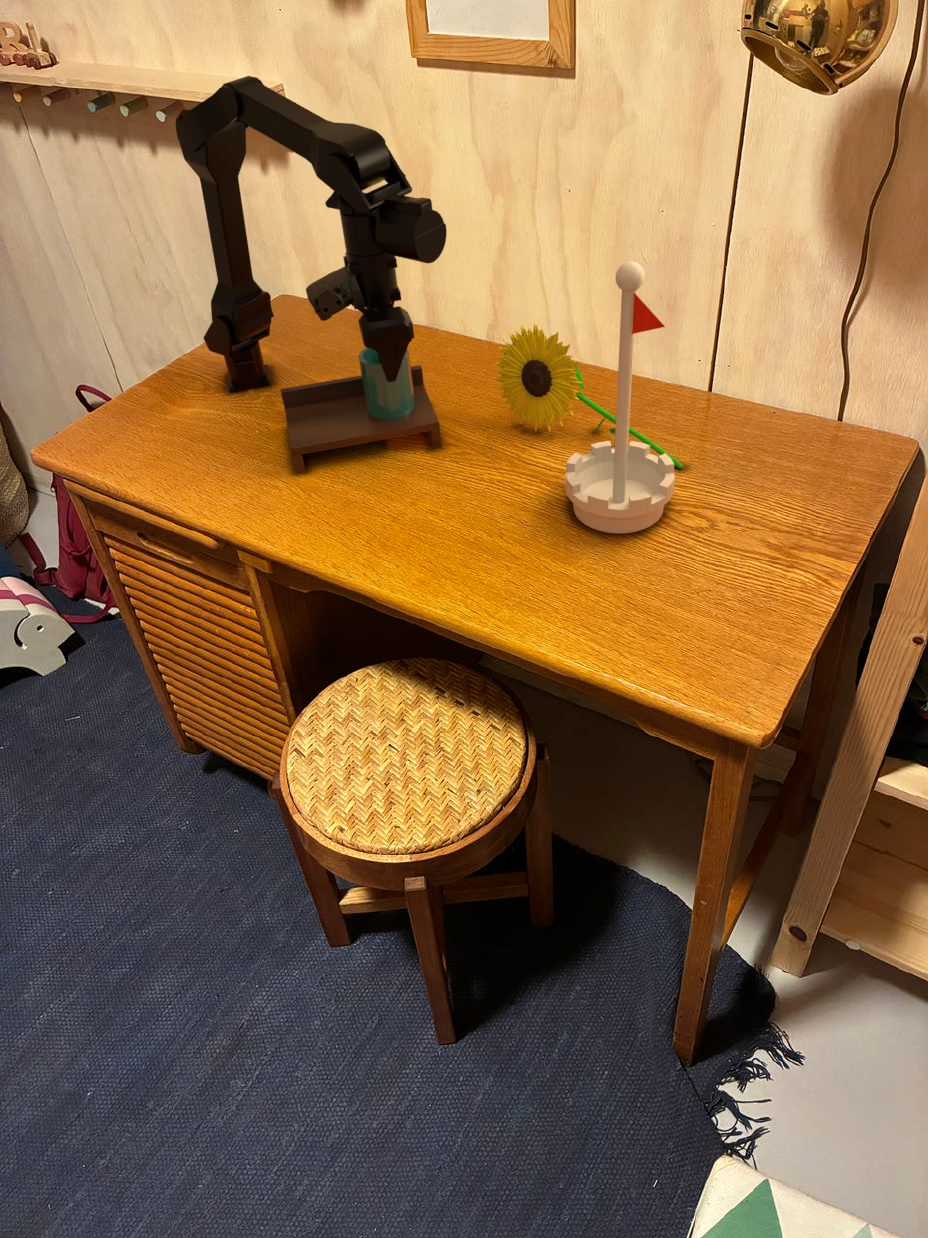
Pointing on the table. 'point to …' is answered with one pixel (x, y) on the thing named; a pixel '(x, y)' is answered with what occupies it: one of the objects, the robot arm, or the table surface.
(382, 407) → the glazed pot
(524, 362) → the decorative plant
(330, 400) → the desk shelf
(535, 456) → the table surface
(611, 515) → the flag stand
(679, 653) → the table surface
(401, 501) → the table surface
